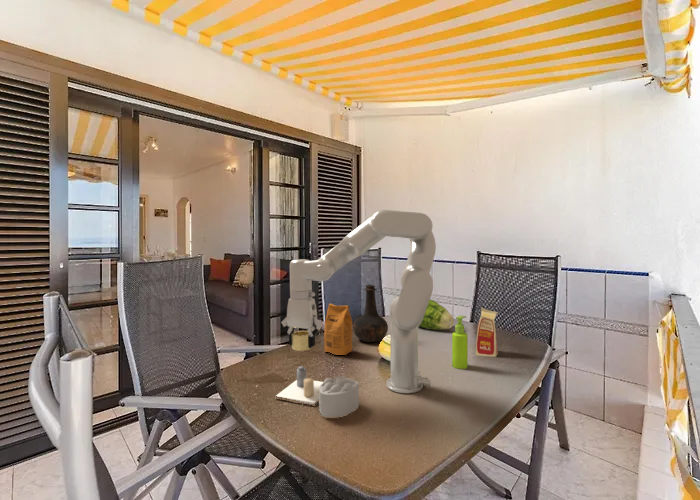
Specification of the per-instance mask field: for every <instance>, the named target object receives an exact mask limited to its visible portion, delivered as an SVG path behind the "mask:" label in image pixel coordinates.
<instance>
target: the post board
mask: <svg viewBox="0 0 700 500" xmlns="http://www.w3.org/2000/svg"><path fill="white" fill-rule="evenodd" d="M323 382H324V381H319V380H314V378H312V377H308V378H307V368H305V366H304V365H303V366H301V365H300V366H298V367H297V369H296V380H294V381H293V382H292V383H290V384H289V385H288V386H287V387H285V388H284V389H283V390H282V391H280V392H279V393H277V394H276V395H275V397H276V396H277V397H282V398H287V399H291V400H296V401H300V402H304V403H309V404H315V403H316V402H317V401H318V400H319V388H320V385H321V384H322V383H323Z"/></svg>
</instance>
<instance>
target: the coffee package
mask: <svg viewBox="0 0 700 500" xmlns="http://www.w3.org/2000/svg"><path fill="white" fill-rule="evenodd" d="M323 331H324V333H323V334H324V335H323V341H324V346H323V347H324V352H325V351H326V352H330V353H332V354H336V355H345V356H346V355H347V354H349V353H351V352H352V351H353V340H352V339H353V319H352V316H351V313H350V306H349V305H335V304H333V303H329V304H328V307H327V312H326V317H325V321H324V330H323ZM330 353H329V354H330ZM332 354H331V355H332Z"/></svg>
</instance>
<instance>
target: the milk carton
mask: <svg viewBox="0 0 700 500" xmlns="http://www.w3.org/2000/svg"><path fill="white" fill-rule="evenodd" d="M480 311H481V314H480V318H479V320H478V321H479V322H478V325H477V333H476V338H475V339H476V340H475V356H479V357H480V356H481V357H492V358H496V357H497V355H498V354H499V351H498V341H497V333H496V323H495V319H496V316H497V314H498V313H499V312H498V311H493V310H489V309H487V308H486V309H485V308H483V307H480Z"/></svg>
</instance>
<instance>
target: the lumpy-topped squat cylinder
mask: <svg viewBox="0 0 700 500" xmlns="http://www.w3.org/2000/svg"><path fill="white" fill-rule="evenodd" d="M322 382H323V383H322V384H321V385H320V388H319V402H318V412H319V411H320V413H321V415H322V416H325V417H340V416H344V415H347V414H349V413H351V412H353V411H354V410H355V409H356V408H357V409H358V408H359V407H360V397H359V396H360V390H359V389H360V388H359V387H360V386H359V383H360V382H358V380H355V379H352V378H350V377H345V376H343V375H337V376H335V377H330V376H329V377H326V378H324V380H323V381H322ZM358 406H359V407H358ZM357 409H356V410H357ZM356 410H355V411H356ZM355 411H354V412H355ZM354 412H353V413H354ZM320 413H319V414H320ZM351 414H352V413H351ZM321 415H320V416H321Z"/></svg>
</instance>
